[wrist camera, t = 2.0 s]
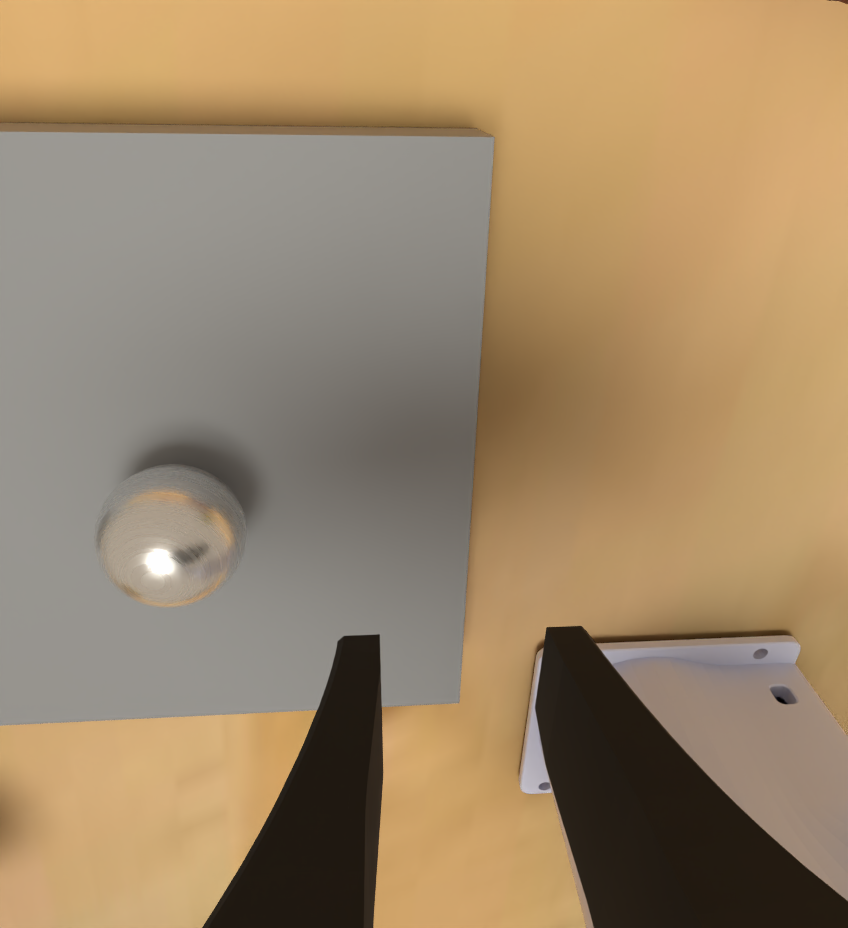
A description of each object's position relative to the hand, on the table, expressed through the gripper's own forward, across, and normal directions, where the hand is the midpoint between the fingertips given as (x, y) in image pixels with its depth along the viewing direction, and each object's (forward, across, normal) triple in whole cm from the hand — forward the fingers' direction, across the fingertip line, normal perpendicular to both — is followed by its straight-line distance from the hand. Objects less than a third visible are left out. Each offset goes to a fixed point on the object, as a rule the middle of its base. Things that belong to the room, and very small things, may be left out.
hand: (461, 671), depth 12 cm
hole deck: (+8, +9, 0) cm, 12 cm away
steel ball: (+4, +6, 0) cm, 7 cm away
